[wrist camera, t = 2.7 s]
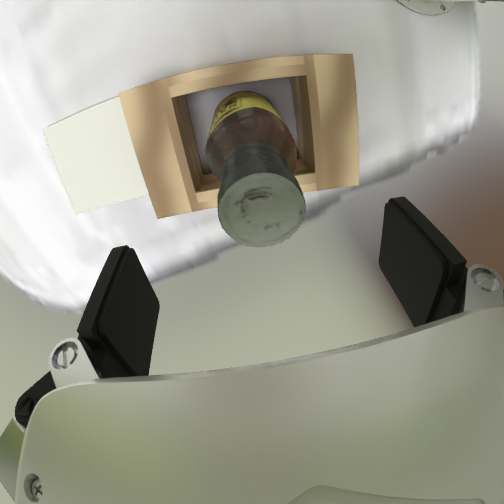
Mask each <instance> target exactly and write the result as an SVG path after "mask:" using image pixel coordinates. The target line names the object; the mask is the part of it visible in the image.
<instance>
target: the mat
mask: <svg viewBox="0 0 504 504" xmlns="http://www.w3.org/2000/svg"><path fill="white" fill-rule="evenodd" d="M43 133H44V136H45V139H46V142H47V145H48V148H49V150H50V153H51V156H52V159H53V161H54V164H55V167H56V169H57V172H58V175H59V177H60V180H61V182H62V185H63V187H64V189H65V192H66V194H67V196H68V199H69V201H70V203H71V206H72V208H73V210H74V212H75V214H79V213H82V212H86V211H89V210H93V209H96V208H100V207H103V206H107V205H110V204H114V203H118V202H121V201H125V200H129V199H133V198H137V197H141V196H145V195H149V193H148V190H147V187H146V184H145V181H144V178H143V175H142V172H141V169H140V166H139V163H138V160H137V157H136V153H135V150H134V147H133V144H132V140H131V137H130V133H129V130H128V127H127V123H126V120H125V116H124V112H123V109H122V105H121V101H120V97H116V98H113V99H111V100H108V101H105V102H103V103H100V104H98V105H95V106H93V107H91V108H88V109H86V110H84V111H81V112H79V113H77V114H74V115H72V116H70V117H68V118H66V119H64V120H62V121H60V122H57V123H55V124H53V125H51V126H49V127H48V128H46V129H44V130H43Z"/></svg>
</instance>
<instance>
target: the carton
mask: <svg viewBox="0 0 504 504" xmlns="http://www.w3.org/2000/svg"><path fill="white" fill-rule="evenodd" d="M281 77H290V79H291V86H292V94H293V101H294V110H295V118H296V127H297V136H298V145H299V155H300V159H297V165H296V170H295V172H294V174H293V175H294V176H295V178H296V179H297V181H298V183H299V185H300V188H301V190H302V193H304V192H311V191H318V190H325V189H332V188H340V187H348V186H356V185H359V136H358V111H357V95H356V82H355V70H354V61H353V54H315V55H297V56H284V57H274V58H265V59H257V60H249V61H243V62H236V63H230V64H225V65H219V66H214V67H209V68H205V69H200V70H196V71H191V72H187V73H183V74H179V75H175V76H171V77H168V78H164V79H161V80H157V81H154V82H151V83H147V84H144V85H141V86H138V87H135V88H132V89H129V90H126V91H123V92H121V93H118V94H119V97H120V101H121V105H122V109H123V112H124V116H125V120H126V123H127V127H128V130H129V133H130V137H131V140H132V144H133V147H134V150H135V153H136V157H137V160H138V163H139V166H140V169H141V172H142V175H143V178H144V181H145V184H146V187H147V190H148V193H149V196H150V199H151V202H152V205H153V207H154V210H155V213H156V216H157V219H160V218H165V217H169V216H174V215H179V214H184V213H189V212H194V211H199V210H204V209H209V208H215V207H218V203H217V196H218V192H219V189H220V186H221V184H222V183H221V182H220V181H219V180H218V178H217V177H216V176H215V175H214V174H213V173H211V174H206V175H204V174H203V170H202V166H201V162H200V158H199V154H198V150H197V145H196V141H195V137H194V133H193V129H192V124H191V120H190V116H189V111H188V107H187V103H186V98H185V94H188V93H192V92H197V91H201V90H206V89H211V88H216V87H221V86H226V85H232V84H237V83H243V82H250V81H257V80H264V79H272V78H281Z"/></svg>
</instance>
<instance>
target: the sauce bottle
mask: <svg viewBox="0 0 504 504" xmlns="http://www.w3.org/2000/svg"><path fill="white" fill-rule="evenodd" d="M205 156H206V161H207V164H208V167H209V169H210V170H211V172H212V173H213V174H214V175H215V176H216V177H217V178H218V180H219V181H220V182H221V183H222V184H221V186H220V189H219V192H218V196H217V203H218V217H219V221H220V223H221V226H222V228H223V229H224V230H225V232H226V233H227V234H228V235H229V236H230V237H231V238H233V239H234V240H236V241H237V242H239V243H241V244H244V245H246V246H251V247H267V246H273V245H275V244H277V243H281V242H283V241H284V240H286V239H288V238H289V237H291V236H292V235H293V234H294V233H295V232H296V231H297V230H298V228H299V227H300V225H301V223H302V220H303V217H304V214H305V199H304V196H303V193H302V190H301V188H300V185H299V183H298V181H297V179H296V178H295V176H294V175H293V174H294V172H295V170H296V165H297V150H296V145H295V142H294V139H293V138H292V135H291V133H290V131H289V129H288V127H287V126H286V124H285V123H284V121H283V120H282V119H281V117H280V116H279V115H278V113H277V112H276V110H275V109H274V108H273V106H272V105H271V104H270V103H269V102H268V101H267V100H266V99H265V98H264V97H262V96H261V95H258V94H256V93H253V92H249V91H243V92H238V93H234V94H231V95H229V96H228V97H226V98H225V99H224V100H223V101H222V102H221V103H220V104H219V106H218V107H217V109H216V111H215V114H214V118H213V121H212V125H211V128H210V132H209V136H208V140H207V144H206V150H205Z"/></svg>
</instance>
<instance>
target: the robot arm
mask: <svg viewBox="0 0 504 504" xmlns="http://www.w3.org/2000/svg"><path fill="white" fill-rule="evenodd" d="M397 1H399V2H400V3H402V4H403V5H405V6H406V7H408V8H410V9H412V10H414V11H416V12H419V13H422V14H427V15H440V14H444V13H446V12H448V11H450V10H451V9H452V8H453V6H454V4H455V2H457V1H478V2H481V3H484V2H486V1H504V0H397ZM466 262H467V261H466V259H465V258H464V257H463V256H462V255H461V254H460V253H459V252H458V250H457V249H456V248H455V247H454V246H453V245H452V244H451V243H450V242H449V241H448V239H447V238H446V237H445V236H444V235H443V234H442V233H441V232H440V231H439V230H438V229H437V228H436V227H435V226H434V225H433V224H432V223H431V222H430V221H429V220H428V219H427V218H426V217H425V216H424V215H423V214H422V213H421V212H420V211H419V210H418V209H417V208H416V207H415V206H414V205H413V204H412V203H411V202H409V201H408V200H407V199H406V198H405V197H398V198H391V199H390V200H389V201H388V203H386V204H385V210H384V221H383V230H382V240H381V247H380V256H379V266H380V269H381V271H382V272H383V274H384V275H385V277H386V279H387V280H388V282H389V283H390V285H391V287H392V289H393V290H394V292H395V294H396V295H397V297H398V299H399V301H400V302H401V304H402V306H403V307H404V309H405V311H406V313H407V315H408V317H409V318H410V320H411V322H412V324H413V325H414V328H411V329H408V330H404V331H401V332H398V333H394V334H391V335H387V336H384V337H380V338H377V339H373V340H369V341H365V342H362V343H358V344H354V345H350V346H345V347H341V348H337V349H333V350H328V351H324V352H320V353H315V354H310V355H305V356H300V357H295V358H290V359H284V360H279V361H273V362H267V363H261V364H254V365H247V366H240V367H233V368H226V369H218V370H210V371H200V372H190V373H179V374H166V375H152V376H149V368H150V362H151V354H152V349H153V342H154V337H155V331H156V325H157V319H158V314H159V301H158V298H157V297H156V294H155V292H154V290H153V288H152V286H151V284H150V282H149V280H148V278H147V276H146V274H145V272H144V270H143V268H142V265H141V263H140V261H139V259H138V257H137V255H136V252H135V250H134V249H133V248H129V247H128V246H127V245H125V246H120V247H116V248H113V249H112V250H111V252H110V254H109V256H108V258H107V261H106V263H105V265H104V267H103V269H102V271H101V273H100V276H99V278H98V280H97V282H96V285H95V287H94V289H93V292H92V294H91V296H90V299H89V301H88V303H87V306H86V308H85V311H84V313H83V316H82V318H81V321H80V324H79V327H78V329H77V332H78V333H79V336H78V339H76V338H68V339H64V340H63V341H61V342H59V343H58V344H57V345H56V346H55V347H54V349H53V350H52V351H51V354H50V356H49V368H50V371H49V372H48V373H47V374H46V375H44V376H43V377H42V378H41V379H40V380H39V381H37V382H36V383H35V384H34V385H33V386H32V387H31V388H30V389H28V390H27V391H26V392H25V393H24V394H23V395H22V396H21V397H20V398H19V399H18V401H17V404H16V407H15V417H16V421H15V420H14V419H12V420H11V421H10V423H9V424H8V426H7V427H6V429H5V430H4V432H3V433H2V435H1V437H0V482H1V483H2V485H3V486H4V488H5V489H6V490H7V492H8V493H9V495H10V496H11V498H12V499H13V500H14V502H15V504H504V289H503V283H502V279H501V278H500V276H499V275H498V274H497V273H496V272H495V271H494V270H493V269H491V268H490V267H487V266H484V265H474V266H471V267H470V268H469V269H467V268H466V266H465V265H466Z"/></svg>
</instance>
